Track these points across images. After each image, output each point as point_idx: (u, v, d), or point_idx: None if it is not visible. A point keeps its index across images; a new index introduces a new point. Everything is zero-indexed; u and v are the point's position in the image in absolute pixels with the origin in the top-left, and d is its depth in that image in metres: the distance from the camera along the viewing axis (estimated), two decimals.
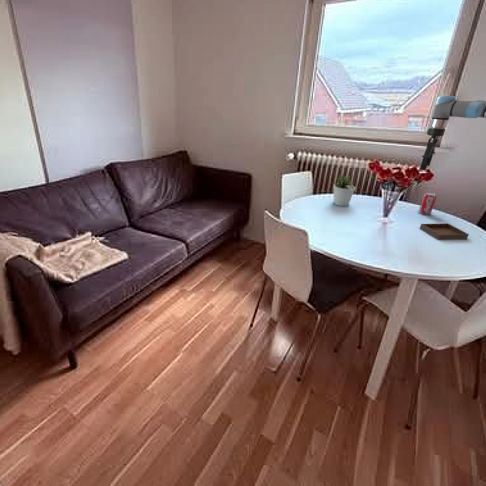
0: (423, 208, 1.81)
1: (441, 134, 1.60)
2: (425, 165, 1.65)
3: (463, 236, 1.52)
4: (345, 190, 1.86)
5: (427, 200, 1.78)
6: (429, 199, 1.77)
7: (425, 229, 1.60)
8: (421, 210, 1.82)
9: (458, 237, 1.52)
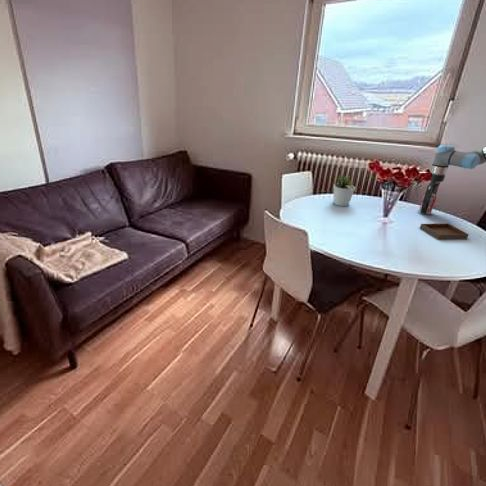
0: None
1: (440, 180, 1.72)
2: (425, 209, 1.80)
3: (463, 236, 1.52)
4: (345, 190, 1.86)
5: None
6: None
7: (425, 229, 1.60)
8: None
9: (458, 237, 1.52)
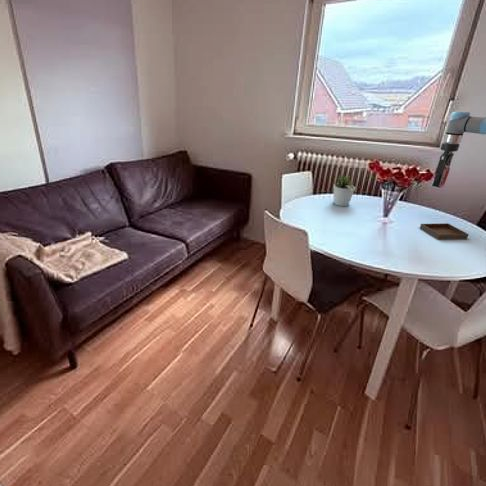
0: None
1: (454, 149, 1.61)
2: (437, 182, 1.68)
3: (463, 236, 1.52)
4: (345, 190, 1.86)
5: None
6: None
7: (425, 229, 1.60)
8: None
9: (458, 237, 1.52)
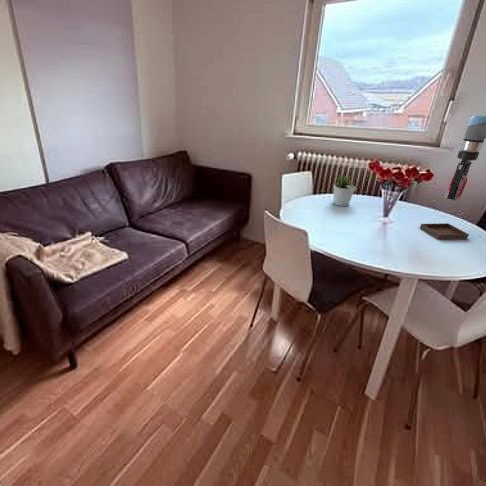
0: None
1: (473, 158, 1.42)
2: (453, 194, 1.50)
3: (463, 236, 1.52)
4: (345, 190, 1.86)
5: None
6: None
7: (425, 229, 1.60)
8: None
9: (458, 237, 1.52)
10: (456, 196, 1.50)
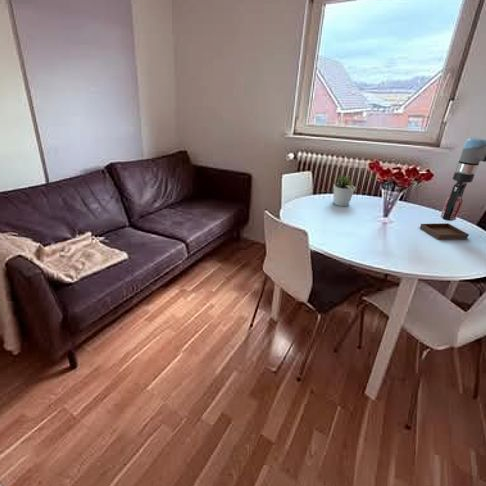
0: None
1: (468, 180, 1.43)
2: (449, 215, 1.51)
3: (463, 236, 1.52)
4: (345, 190, 1.86)
5: None
6: None
7: (425, 229, 1.60)
8: None
9: (458, 237, 1.52)
10: (451, 217, 1.52)
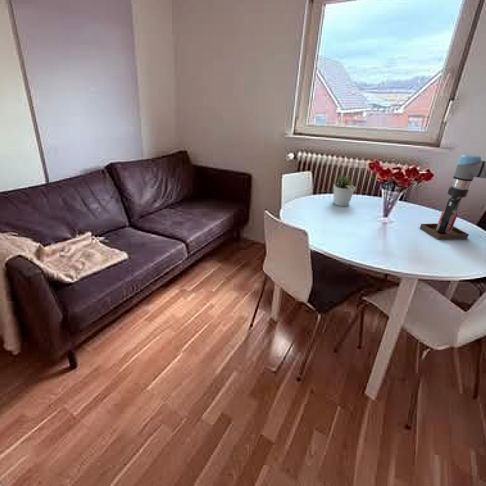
0: None
1: (463, 195, 1.46)
2: (444, 228, 1.54)
3: (463, 236, 1.52)
4: (345, 190, 1.86)
5: None
6: None
7: (425, 229, 1.60)
8: None
9: (458, 237, 1.52)
10: (447, 230, 1.55)
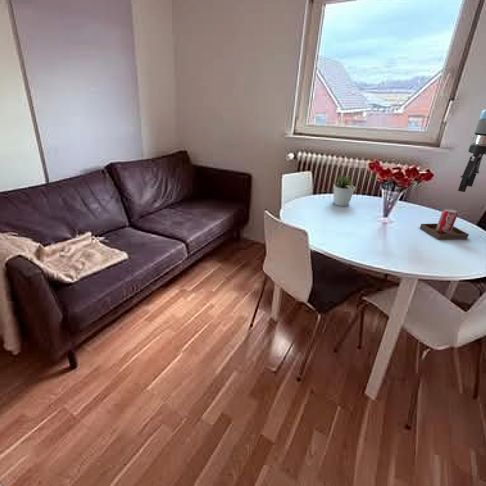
0: (441, 227, 1.56)
1: (485, 152, 1.41)
2: (464, 186, 1.46)
3: (463, 236, 1.52)
4: (345, 190, 1.86)
5: (447, 217, 1.53)
6: (449, 217, 1.52)
7: (425, 229, 1.60)
8: (439, 229, 1.57)
9: (458, 237, 1.52)
10: (447, 230, 1.55)
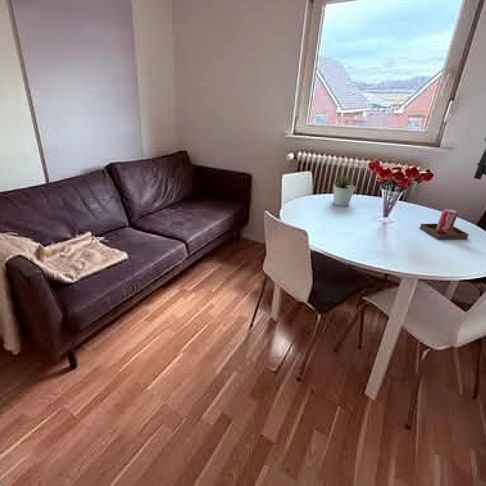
0: (441, 227, 1.56)
1: None
2: (480, 174, 1.53)
3: (463, 236, 1.52)
4: (345, 190, 1.86)
5: (447, 217, 1.53)
6: (449, 217, 1.52)
7: (425, 229, 1.60)
8: (439, 229, 1.57)
9: (458, 237, 1.52)
10: (447, 230, 1.55)
